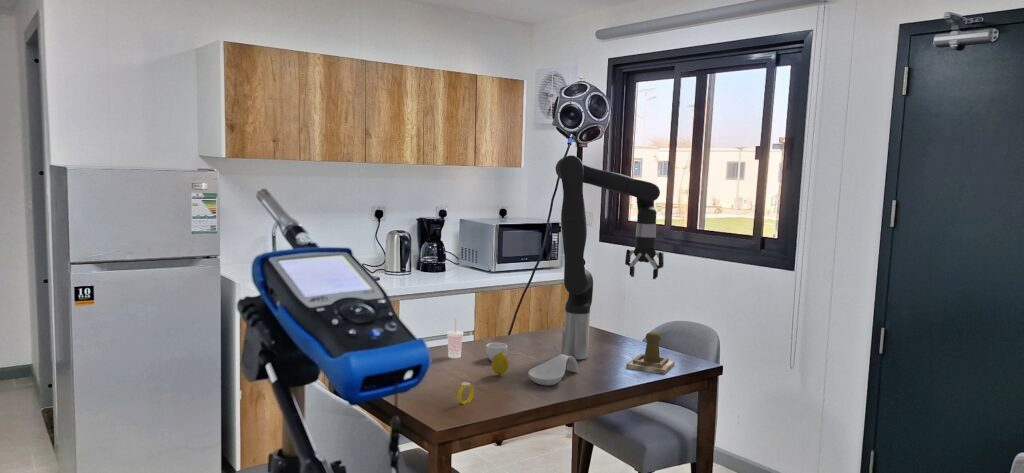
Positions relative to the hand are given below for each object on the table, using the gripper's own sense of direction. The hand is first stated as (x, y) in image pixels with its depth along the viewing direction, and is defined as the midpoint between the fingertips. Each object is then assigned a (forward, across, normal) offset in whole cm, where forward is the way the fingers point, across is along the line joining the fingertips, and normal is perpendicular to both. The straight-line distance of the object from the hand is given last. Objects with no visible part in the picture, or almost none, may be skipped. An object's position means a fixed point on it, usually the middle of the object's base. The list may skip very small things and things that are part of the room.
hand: (643, 277), depth 266 cm
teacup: (+30, -43, -35) cm, 63 cm away
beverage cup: (+30, -58, -41) cm, 77 cm away
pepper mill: (+29, +8, -13) cm, 33 cm away
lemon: (+30, -33, -53) cm, 69 cm away
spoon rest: (+31, -16, -46) cm, 57 cm away
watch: (+30, -29, -83) cm, 93 cm away
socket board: (+30, +8, -13) cm, 34 cm away
